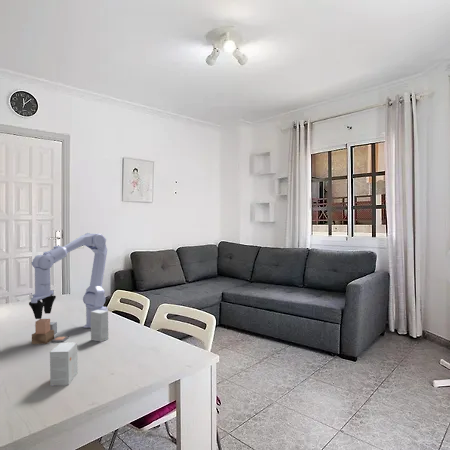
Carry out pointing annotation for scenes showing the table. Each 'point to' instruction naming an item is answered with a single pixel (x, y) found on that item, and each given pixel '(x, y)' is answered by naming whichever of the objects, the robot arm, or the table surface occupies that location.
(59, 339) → the tile
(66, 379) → the small box
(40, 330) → the terracotta block
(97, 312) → the skincare box
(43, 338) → the walnut block
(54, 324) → the slate block
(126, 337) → the table surface
